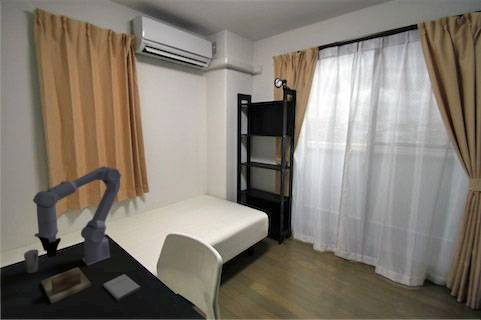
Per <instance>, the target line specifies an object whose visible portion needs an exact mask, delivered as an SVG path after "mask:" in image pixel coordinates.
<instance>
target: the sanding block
mask: <svg viewBox="0 0 481 320" xmlns="http://www.w3.org/2000/svg"><path fill="white" fill-rule="evenodd" d="M71 270H72V269H71ZM68 271H69V270H68ZM63 273H64V272H63ZM60 274H61V273H60ZM55 276H56V275H55ZM52 277H53V276H52ZM51 284H52V291H53V293H54V294H58V293H60V292H62V291H65V290H67V289H69V288H72V287H74V286H76V285H79V284H81V275H80V272H79V270H78V269H75V270H72V271H69V272H67V273H64V274H61V275H59V276H56V277H53V278H51Z"/></svg>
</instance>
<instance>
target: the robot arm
mask: <svg viewBox="0 0 481 320" xmlns="http://www.w3.org/2000/svg"><path fill="white" fill-rule="evenodd" d="M121 177H122V174H121V172H120V170H119V169H117V168H116V167H108V166H100V167H99V168H96V169H94V170H92V171H91V172H88V173H87V174H84V175H82V176H80V177H79V178H77V179H75V180H73V181H70V180H62V181H60V182H59V183H60V184H58V185H55V186H53V187H48V188H46V189H47V190H41V191H38V192H37V193H36V194H35V195H34V196H33V199H32V201H33V202H34V204H35V205H36V218H37V229H38V232H37V233H34V237H35V238H38V239H39V241H40V243H41V246H42V248H43V251H44V252H46V254H47V257H48V258H49V259H50V258H54V257H56V255H57V252H58V248H59V244H60V242H61V240H62V238H61V237H58V238H57V234H59V233H58V232H59V229H58V220H57V219H58V218H57V209H56V207H57V206H56V204H57V203H58V201H61V200H62V199H64V198H67V197H69V196H71V195H72V194H75V193H76V191H77V189H78V188H81V187H82V186H85V185H88V184H90V183H91V182H94V181H102V182H103V184H104V186H105V187H106V188H105V191H104V193H103V195H102V198H101V199H100V201H99V204H98V205H97V209H96V210H95V212H94V213H93V214H94V215H93V217H92V219H90V220H89V221H88V222H87V223H86V225H85V226H84V227H83V228H82V229H81V233H80V235H81V237H82V238H83V240H84V241H83V248H84V257H82V258H81V260H82V261H83V263H85V265H87V266H91V265H93V264H96V263H99V262H101V261H104V260H107V259H109V258H110V257H111V255H110V243H109V239H108V237H105V235H106V229H107V226H106V221H107V219H108V216H109V214H110V211H111V209H112V206H113V204H114V202H115V200H116V197H117V195H118V193H119V191H120V188H121Z"/></svg>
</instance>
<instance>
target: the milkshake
mask: <svg viewBox="0 0 481 320" xmlns="http://www.w3.org/2000/svg"><path fill="white" fill-rule="evenodd" d="M23 258H24V261H25V267H26V272H27V273H28V274H33V273H35V272H37V271H38V270H39V269H38V268H39V250H38V249H29V250H27V251H25V252H24V254H23Z"/></svg>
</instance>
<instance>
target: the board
mask: <svg viewBox="0 0 481 320" xmlns="http://www.w3.org/2000/svg"><path fill="white" fill-rule="evenodd" d="M75 269H78V270H79V272H80V275H81V284H79V285H76V286H74V287H72V288H69V289H67V290H65V291H62V292H60V293H58V294H54V293H53V291H52V284H51V278H53V277H56V276H59V275H61V274H64V273H67V272H69V271H72V270H75ZM41 286H42V288H43V290H44V292H45V293H46V296H47V298H48V300H49V302H50V304H53V303H56V302H58V301H60V300H63V299H65V298H67V297H70V296H72V295H74V294H76V293H78V292H81V291H83V290H85V289H87V288H89V287H91V286H92V282H91V281H90V280H89V279H88V277H86V275H85V273H84V272H83V271H82V270H81V269H80V268H79V267H78V266H77V267H74V268H72V269H69V270H67V271H64V272H62V273H59V274H56V275H54V276H53V275H52V276H51V277H48V278H45V279H42V280H41Z"/></svg>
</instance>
